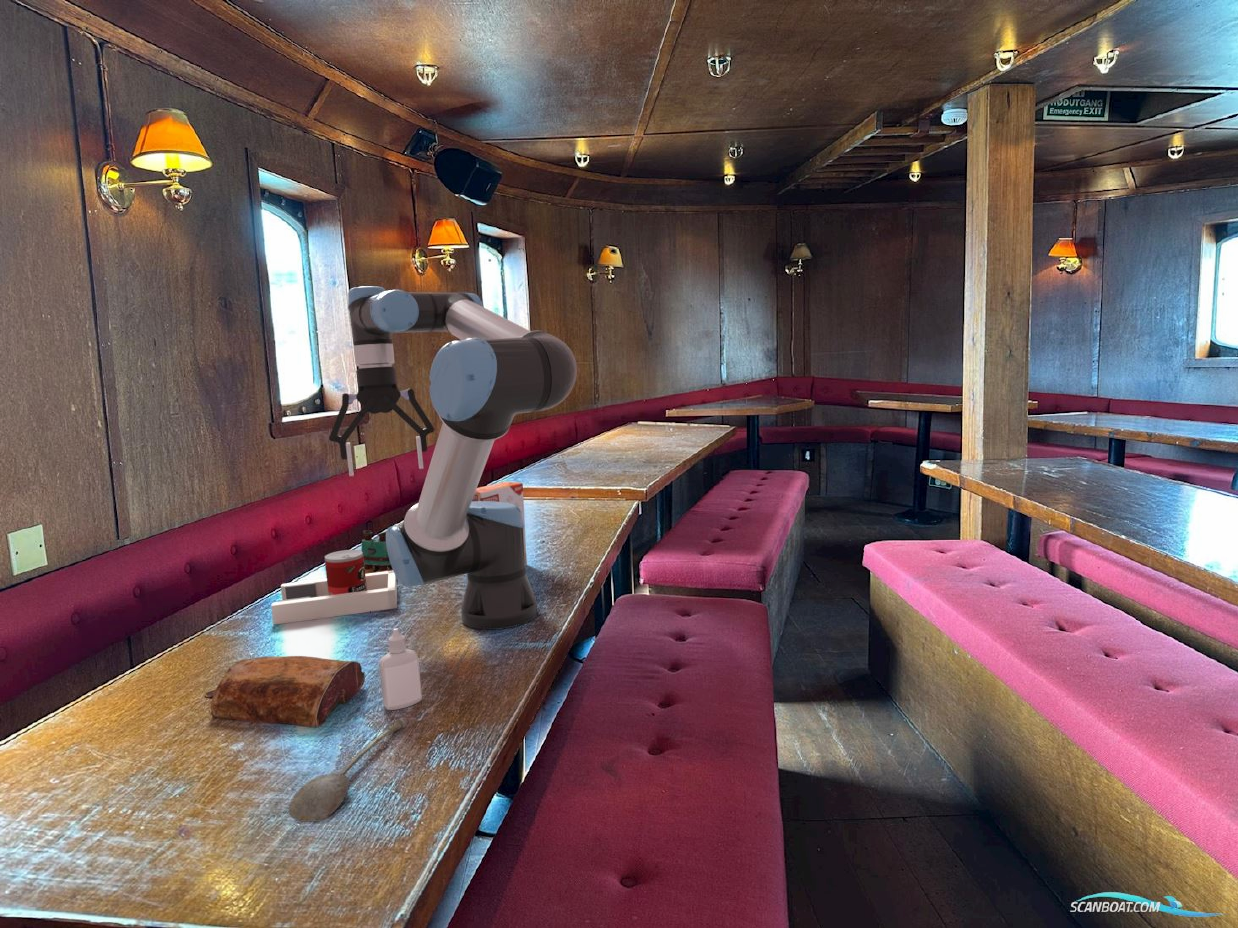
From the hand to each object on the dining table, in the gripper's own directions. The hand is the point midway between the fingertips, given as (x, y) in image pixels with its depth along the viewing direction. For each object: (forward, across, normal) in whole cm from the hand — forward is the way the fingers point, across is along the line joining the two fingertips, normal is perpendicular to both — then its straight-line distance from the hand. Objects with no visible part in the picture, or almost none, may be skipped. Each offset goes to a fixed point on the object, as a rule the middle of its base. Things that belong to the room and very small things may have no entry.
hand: (386, 471), depth 151 cm
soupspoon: (+32, +8, +60) cm, 68 cm away
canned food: (+29, +11, -10) cm, 33 cm away
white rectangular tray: (+29, +13, -10) cm, 33 cm away
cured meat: (+31, +20, +32) cm, 49 cm away
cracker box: (+29, -24, -19) cm, 42 cm away
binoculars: (+29, +3, -33) cm, 43 cm away
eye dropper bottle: (+31, +1, +43) cm, 53 cm away
